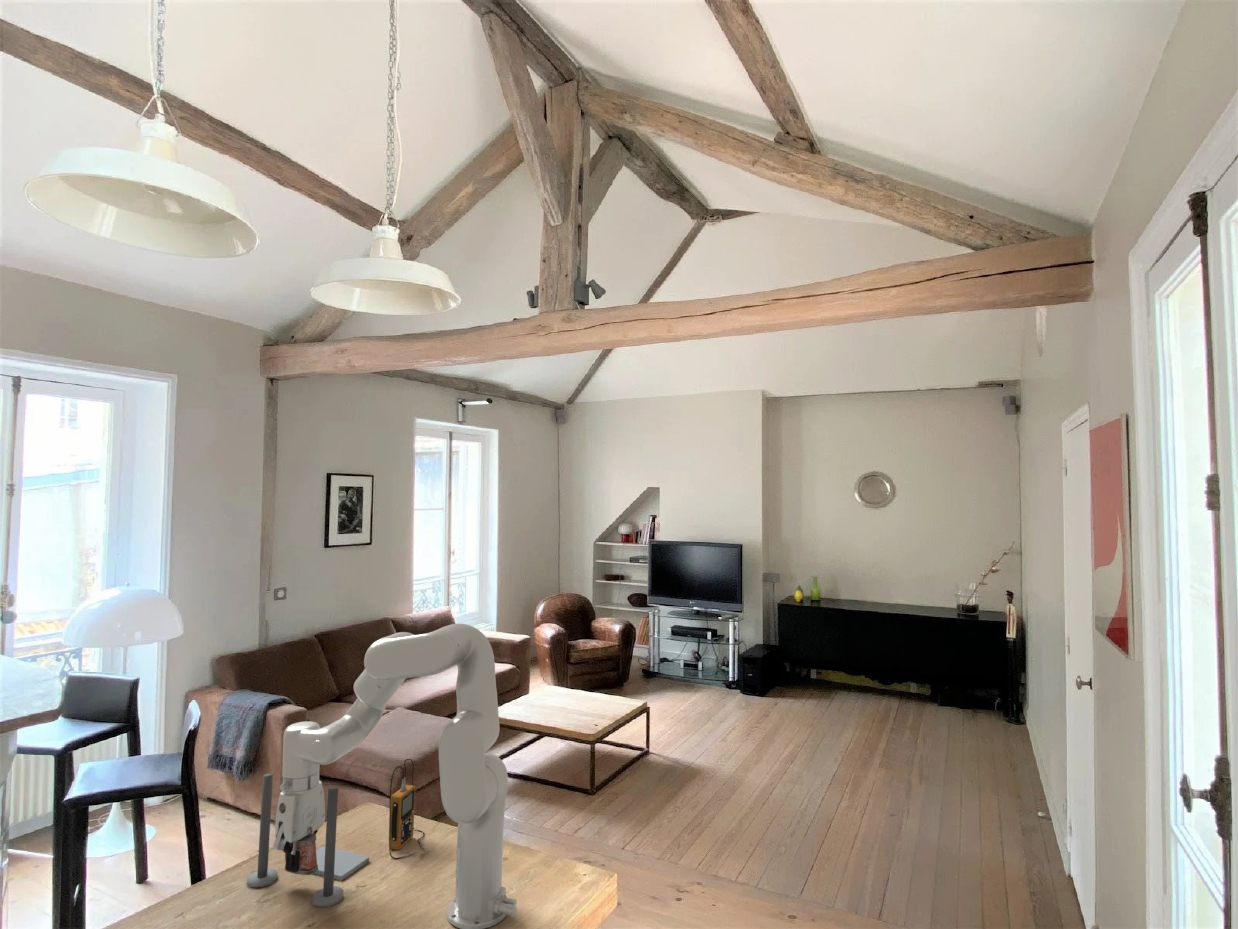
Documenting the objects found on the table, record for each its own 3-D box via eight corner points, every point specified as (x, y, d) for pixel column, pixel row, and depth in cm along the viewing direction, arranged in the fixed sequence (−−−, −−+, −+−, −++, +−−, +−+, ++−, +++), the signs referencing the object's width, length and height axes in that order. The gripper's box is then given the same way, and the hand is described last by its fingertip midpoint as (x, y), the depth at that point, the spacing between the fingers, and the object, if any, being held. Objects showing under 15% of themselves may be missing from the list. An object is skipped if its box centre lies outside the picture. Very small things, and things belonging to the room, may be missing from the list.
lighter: (281, 871, 146) (278, 827, 145) (292, 862, 149) (289, 818, 148) (310, 876, 143) (307, 831, 143) (321, 867, 146) (319, 823, 146)
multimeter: (418, 863, 157) (421, 776, 158) (380, 857, 159) (383, 772, 160) (446, 834, 171) (449, 755, 173) (411, 829, 173) (414, 751, 175)
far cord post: (283, 876, 150) (288, 772, 152) (260, 890, 144) (266, 782, 146) (263, 871, 152) (269, 768, 154) (240, 884, 146) (246, 778, 148)
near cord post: (349, 894, 143) (354, 785, 145) (328, 910, 138) (333, 796, 139) (327, 888, 145) (332, 781, 147) (306, 903, 140) (311, 792, 142)
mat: (369, 861, 157) (369, 857, 157) (341, 881, 149) (341, 876, 149) (323, 850, 162) (323, 846, 162) (293, 868, 153) (294, 863, 154)
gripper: (283, 798, 138) (280, 890, 136) (341, 770, 153) (339, 852, 151) (256, 793, 140) (253, 883, 139) (316, 766, 156) (313, 847, 154)
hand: (298, 866), depth 145 cm, fingers closed on lighter, 2 cm apart
